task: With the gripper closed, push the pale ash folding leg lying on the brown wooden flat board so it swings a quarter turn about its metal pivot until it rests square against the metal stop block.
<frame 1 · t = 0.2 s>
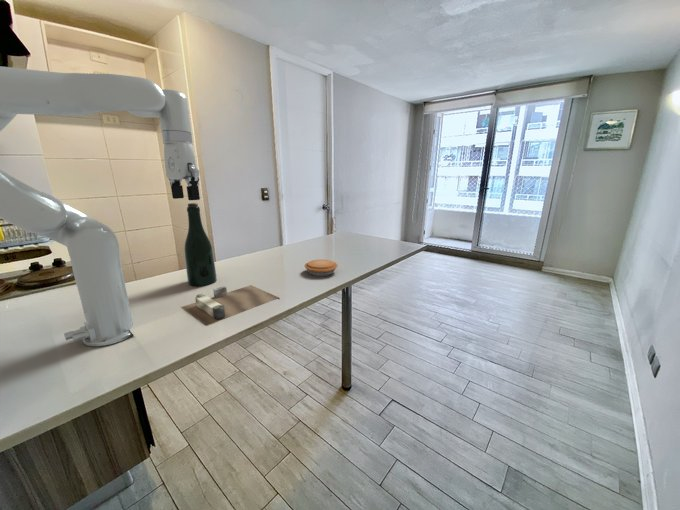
hand: (186, 199, 86), 36 cm above the countertop, fingers open, 9 cm apart
folding leg: (209, 305, 88), point 3 cm above the countertop, hinge at -90.0°
brown wooden flat board: (232, 306, 95), on the countertop
pie: (321, 272, 131), on the countertop
green wine bottle: (203, 285, 114), on the countertop
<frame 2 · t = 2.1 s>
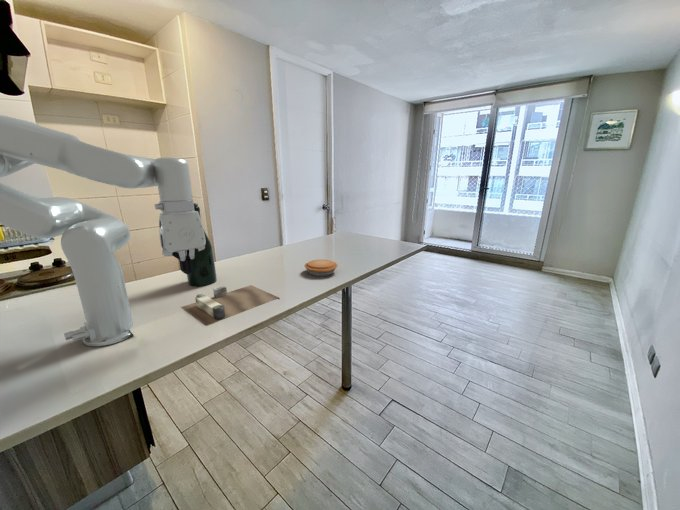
hand: (188, 272, 79), 17 cm above the countertop, fingers closed
nothing on the countertop moved.
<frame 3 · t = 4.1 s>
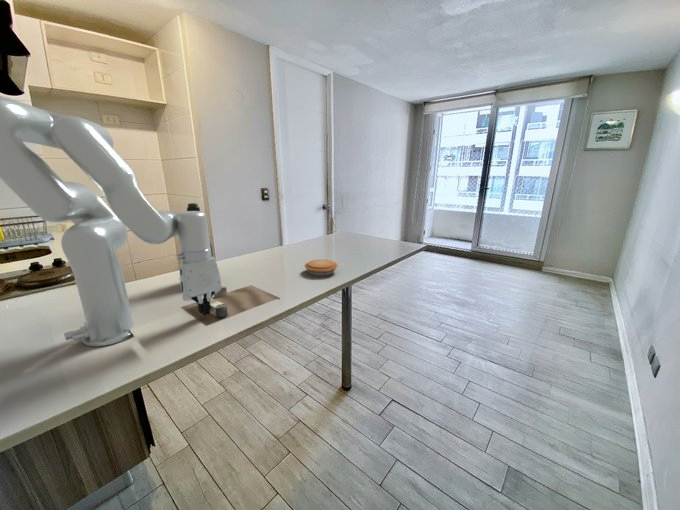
hand: (205, 313, 85), 3 cm above the countertop, fingers closed
folding leg: (211, 305, 88), point 3 cm above the countertop, hinge at -86.0°, touching gripper
everything else where it was.
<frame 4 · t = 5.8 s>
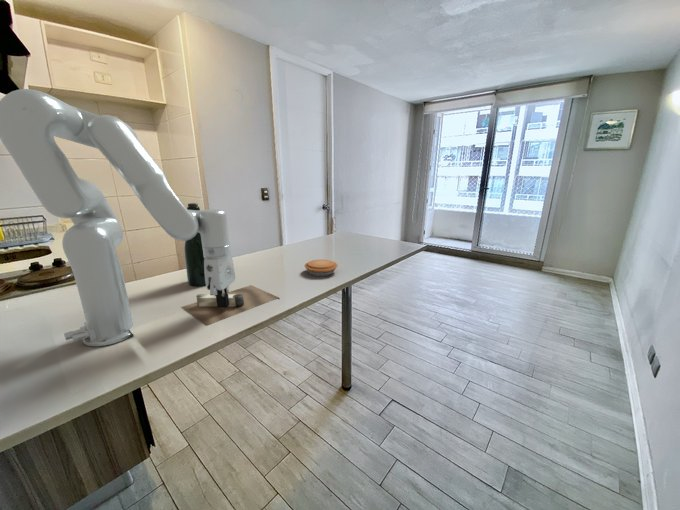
hand: (223, 306, 89), 3 cm above the countertop, fingers closed
folding leg: (220, 299, 92), point 3 cm above the countertop, hinge at -48.3°, touching gripper
everything else where it was.
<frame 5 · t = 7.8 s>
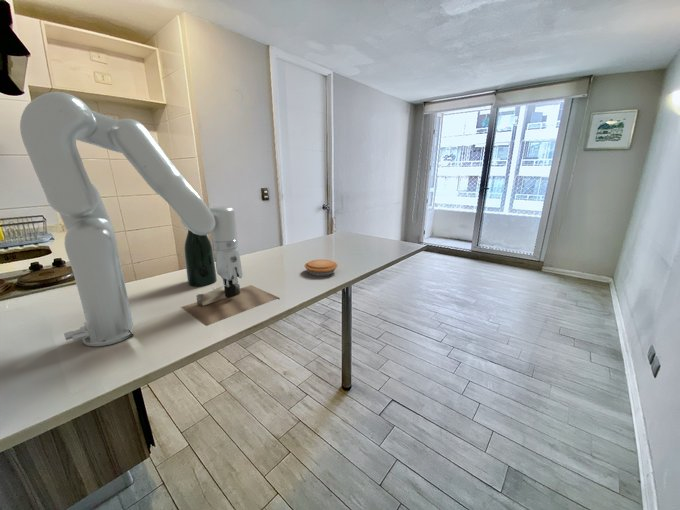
hand: (230, 296, 97), 3 cm above the countertop, fingers closed
folding leg: (219, 293, 97), point 3 cm above the countertop, hinge at 0.6°, touching gripper, brown wooden flat board
everything else where it was.
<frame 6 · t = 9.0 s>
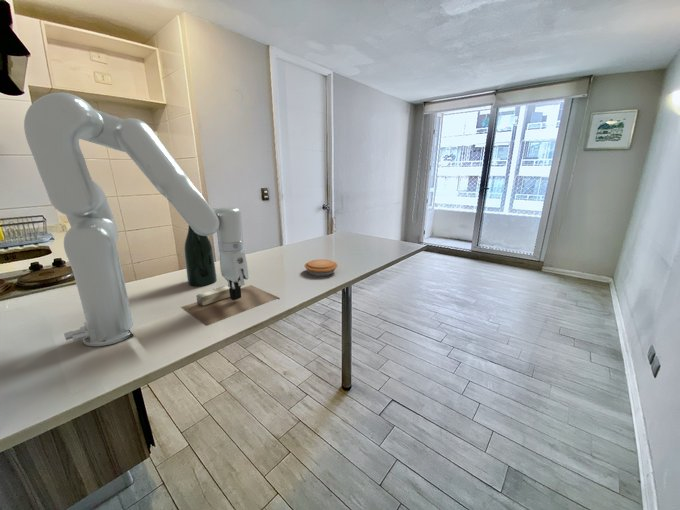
hand: (235, 298, 95), 3 cm above the countertop, fingers closed
folding leg: (219, 293, 97), point 3 cm above the countertop, hinge at 0.6°
everything else where it was.
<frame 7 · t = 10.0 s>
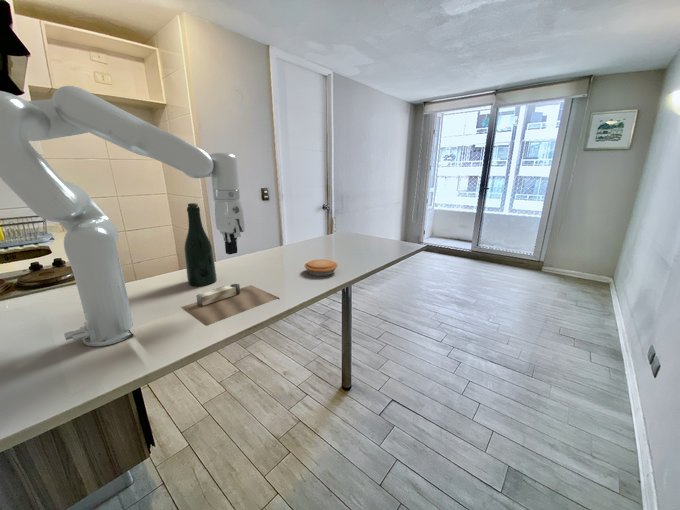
hand: (231, 253, 91), 19 cm above the countertop, fingers closed
nothing on the countertop moved.
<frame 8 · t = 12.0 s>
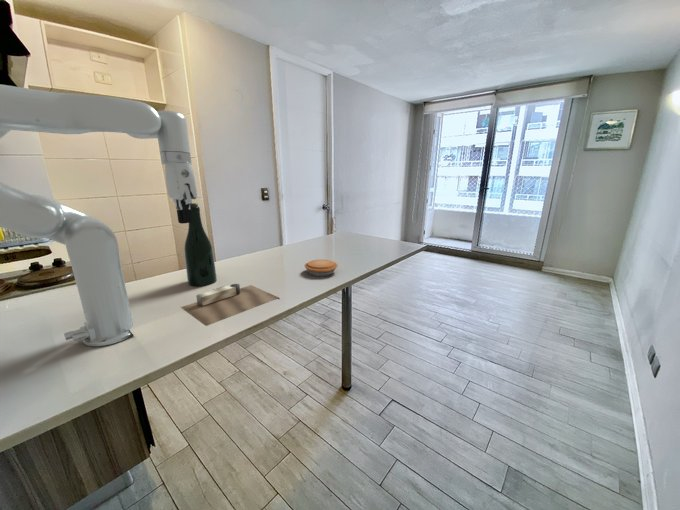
hand: (185, 222, 85), 29 cm above the countertop, fingers closed
nothing on the countertop moved.
at the end: folding leg at +1° (first picture: -90°) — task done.
